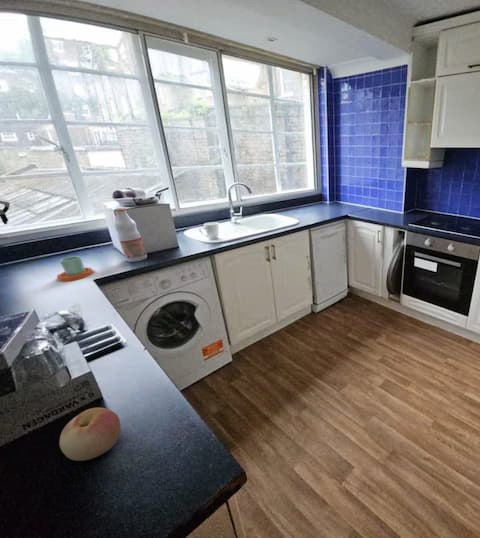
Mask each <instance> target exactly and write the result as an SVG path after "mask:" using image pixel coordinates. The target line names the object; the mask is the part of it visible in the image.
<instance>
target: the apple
mask: <svg viewBox="0 0 480 538" xmlns="http://www.w3.org/2000/svg"><path fill="white" fill-rule="evenodd" d="M120 433H121V421H120V418H119V416H118V415H117V413H115V412H114V411H113V410H111V409H109V408H105V407H100V406H99V407H92V408H88V409H85V410H84V411H81V412H80V413H79V414H78V415H77V414H76V416H75V417H73V418H72V419H71V420H70V421H68V423H66V425H65V426H64V428H62V431H61V434H60V436H59V448H60V450H61V452H62V453H63V454H64V456H65V457H66V458H68V459H69V460H72V461H76V462H77V461H78V462H84V461H90V460H92V459H95V458H97V457H98V458H99V457H100V456H102V455H104V454H105V453H107V452H108V451H110V450H111V449H112V448H113V447H114V446H115V444H116V443H117V441H118V439H119V437H120Z"/></svg>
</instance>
